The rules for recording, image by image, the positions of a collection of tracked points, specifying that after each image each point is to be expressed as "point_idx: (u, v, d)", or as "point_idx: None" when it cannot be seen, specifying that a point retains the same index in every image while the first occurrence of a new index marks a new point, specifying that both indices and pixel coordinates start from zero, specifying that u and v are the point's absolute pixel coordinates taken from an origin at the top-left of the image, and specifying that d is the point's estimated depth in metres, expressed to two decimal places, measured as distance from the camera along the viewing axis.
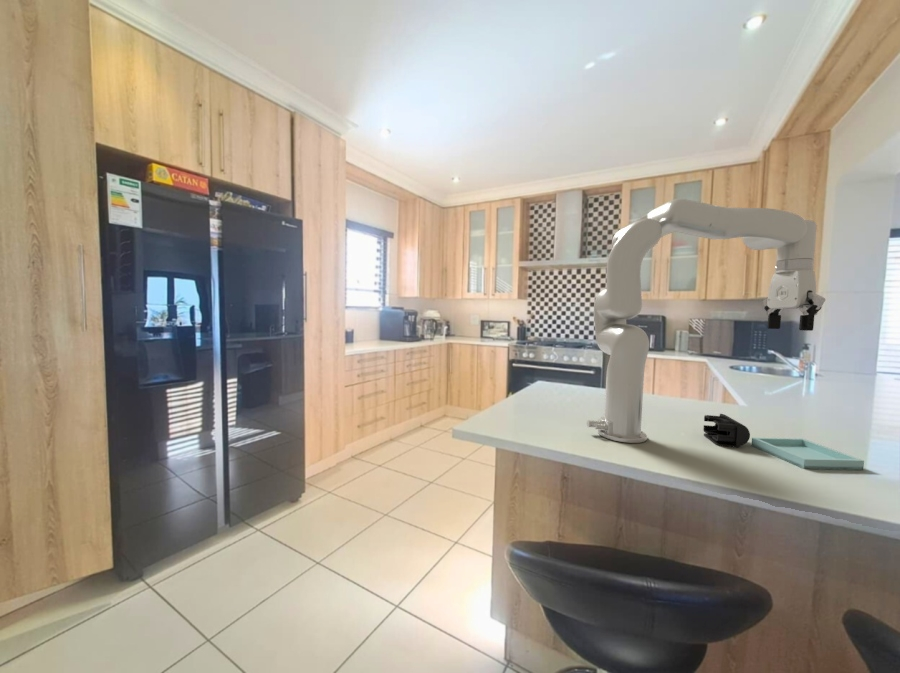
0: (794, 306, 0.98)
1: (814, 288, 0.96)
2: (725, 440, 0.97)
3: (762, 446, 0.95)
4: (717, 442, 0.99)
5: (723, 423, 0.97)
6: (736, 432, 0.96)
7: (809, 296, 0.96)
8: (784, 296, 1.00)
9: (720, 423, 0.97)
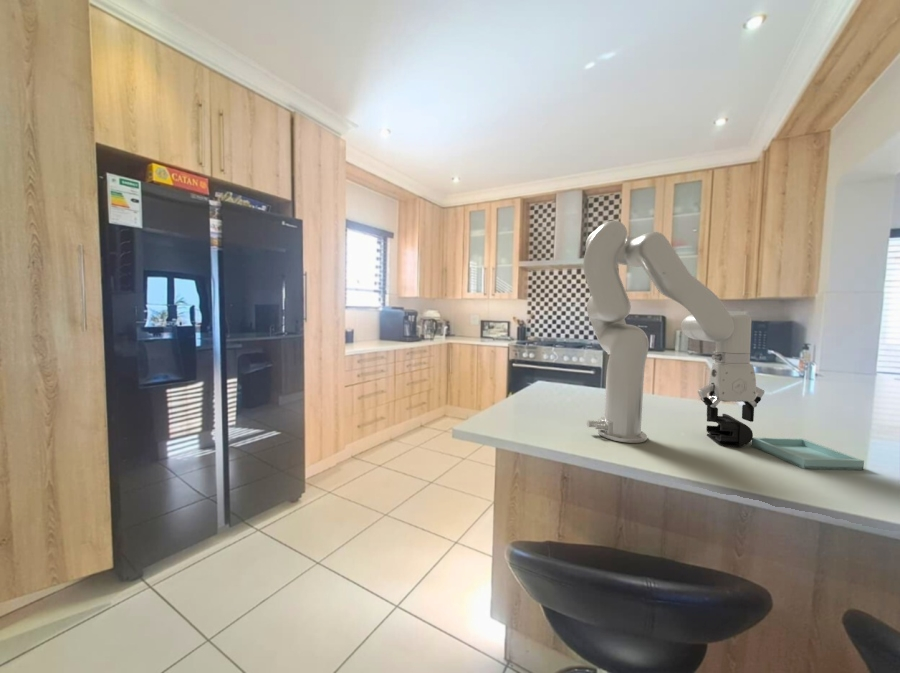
0: (752, 400, 0.98)
1: None
2: (728, 440, 0.97)
3: (762, 446, 0.95)
4: (720, 442, 0.99)
5: (726, 423, 0.97)
6: (739, 432, 0.96)
7: None
8: (741, 389, 0.97)
9: (723, 423, 0.97)
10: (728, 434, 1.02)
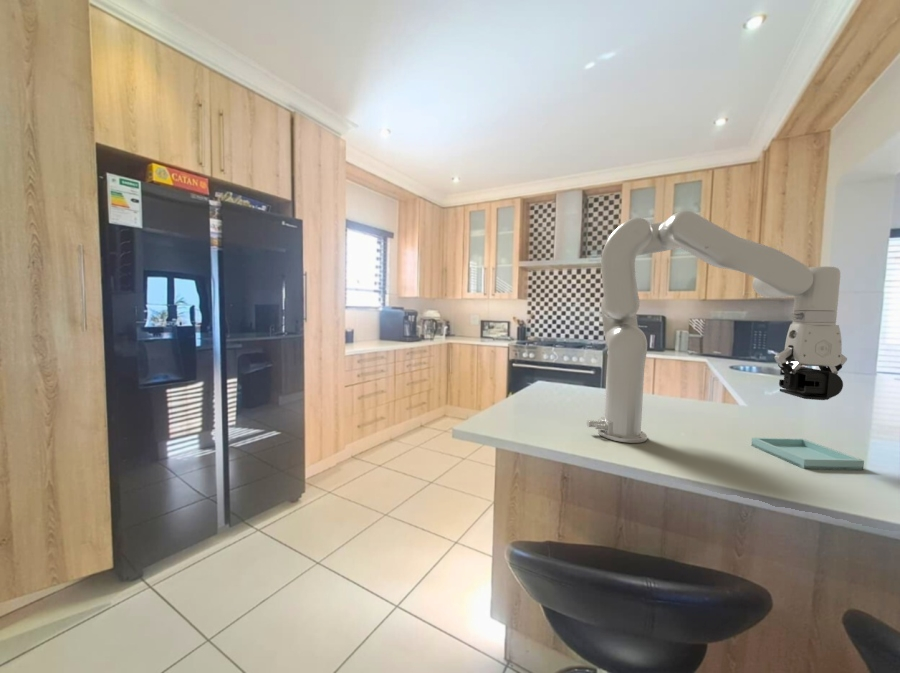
0: (836, 364, 0.87)
1: None
2: (814, 392, 0.86)
3: (762, 446, 0.95)
4: (803, 395, 0.87)
5: (811, 373, 0.86)
6: (827, 382, 0.85)
7: None
8: (825, 352, 0.87)
9: (808, 373, 0.86)
10: None
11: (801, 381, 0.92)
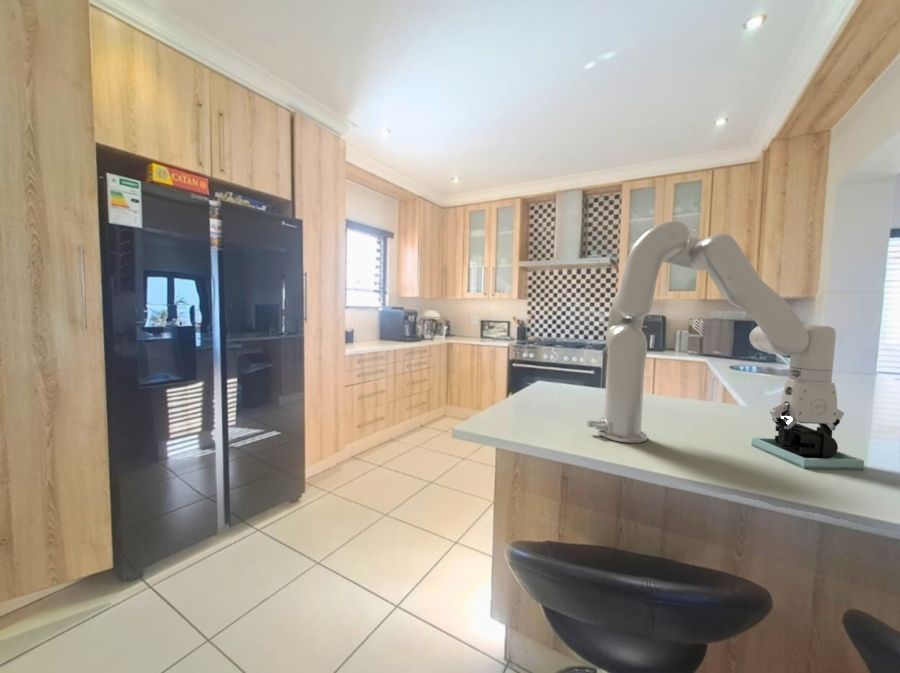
0: (832, 422, 0.88)
1: None
2: (809, 453, 0.87)
3: (762, 446, 0.95)
4: (798, 455, 0.88)
5: (806, 434, 0.87)
6: (822, 444, 0.86)
7: None
8: (820, 410, 0.87)
9: (803, 434, 0.87)
10: (802, 445, 0.92)
11: (796, 438, 0.93)
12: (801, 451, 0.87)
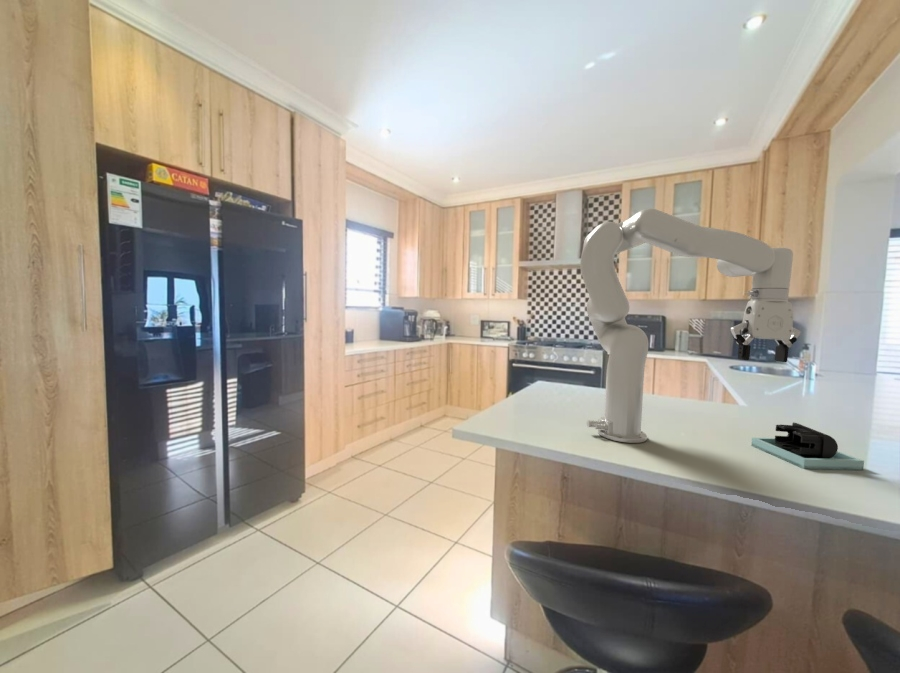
0: (787, 338, 0.95)
1: None
2: (809, 453, 0.87)
3: (762, 446, 0.95)
4: (798, 455, 0.88)
5: (806, 434, 0.87)
6: (822, 444, 0.86)
7: None
8: (777, 327, 0.94)
9: (803, 434, 0.87)
10: (802, 446, 0.92)
11: (796, 438, 0.93)
12: (801, 451, 0.87)
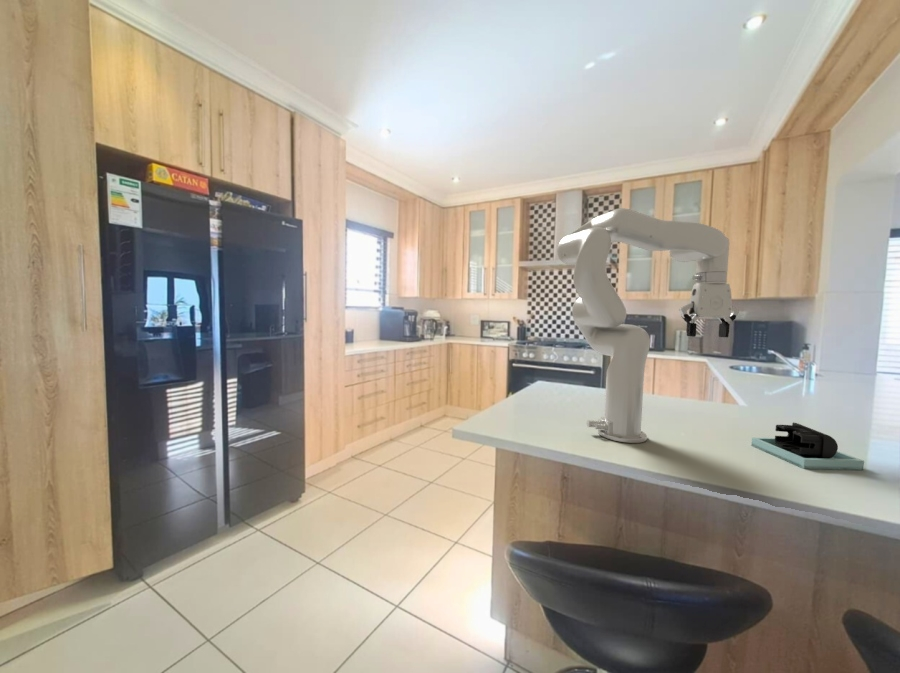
0: (727, 316, 1.07)
1: None
2: (809, 453, 0.87)
3: (762, 446, 0.95)
4: (798, 455, 0.88)
5: (806, 434, 0.87)
6: (822, 444, 0.86)
7: None
8: (718, 306, 1.07)
9: (803, 434, 0.87)
10: (802, 446, 0.92)
11: (796, 438, 0.93)
12: (801, 451, 0.87)
